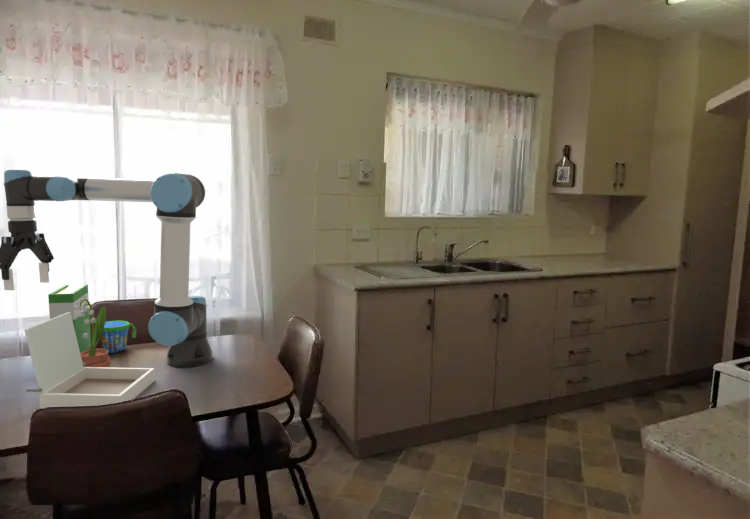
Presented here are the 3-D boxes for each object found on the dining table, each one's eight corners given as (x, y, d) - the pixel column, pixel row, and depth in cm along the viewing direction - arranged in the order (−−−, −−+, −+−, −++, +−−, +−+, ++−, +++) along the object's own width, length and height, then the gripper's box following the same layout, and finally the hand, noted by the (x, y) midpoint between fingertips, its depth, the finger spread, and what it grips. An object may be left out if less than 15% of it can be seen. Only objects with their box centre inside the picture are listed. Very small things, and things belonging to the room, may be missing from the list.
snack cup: (131, 343, 200) (130, 317, 199) (141, 349, 193) (140, 323, 191) (87, 351, 189) (85, 324, 188) (96, 358, 182) (94, 330, 181)
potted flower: (92, 378, 164) (88, 300, 160) (64, 375, 165) (60, 298, 162) (117, 365, 175) (114, 293, 172) (92, 363, 177) (88, 291, 174)
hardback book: (69, 348, 193) (65, 284, 189) (91, 347, 194) (87, 284, 191) (52, 363, 176) (48, 294, 173) (76, 362, 178) (72, 293, 174)
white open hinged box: (154, 380, 162) (152, 312, 160) (121, 410, 141) (117, 332, 138) (73, 378, 162) (69, 311, 159) (27, 408, 141) (21, 330, 138)
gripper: (43, 217, 175) (48, 279, 178) (-25, 221, 151) (-18, 293, 154) (62, 217, 174) (67, 279, 177) (-3, 222, 150) (3, 294, 152)
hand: (27, 286), depth 165 cm, fingers open, 13 cm apart
